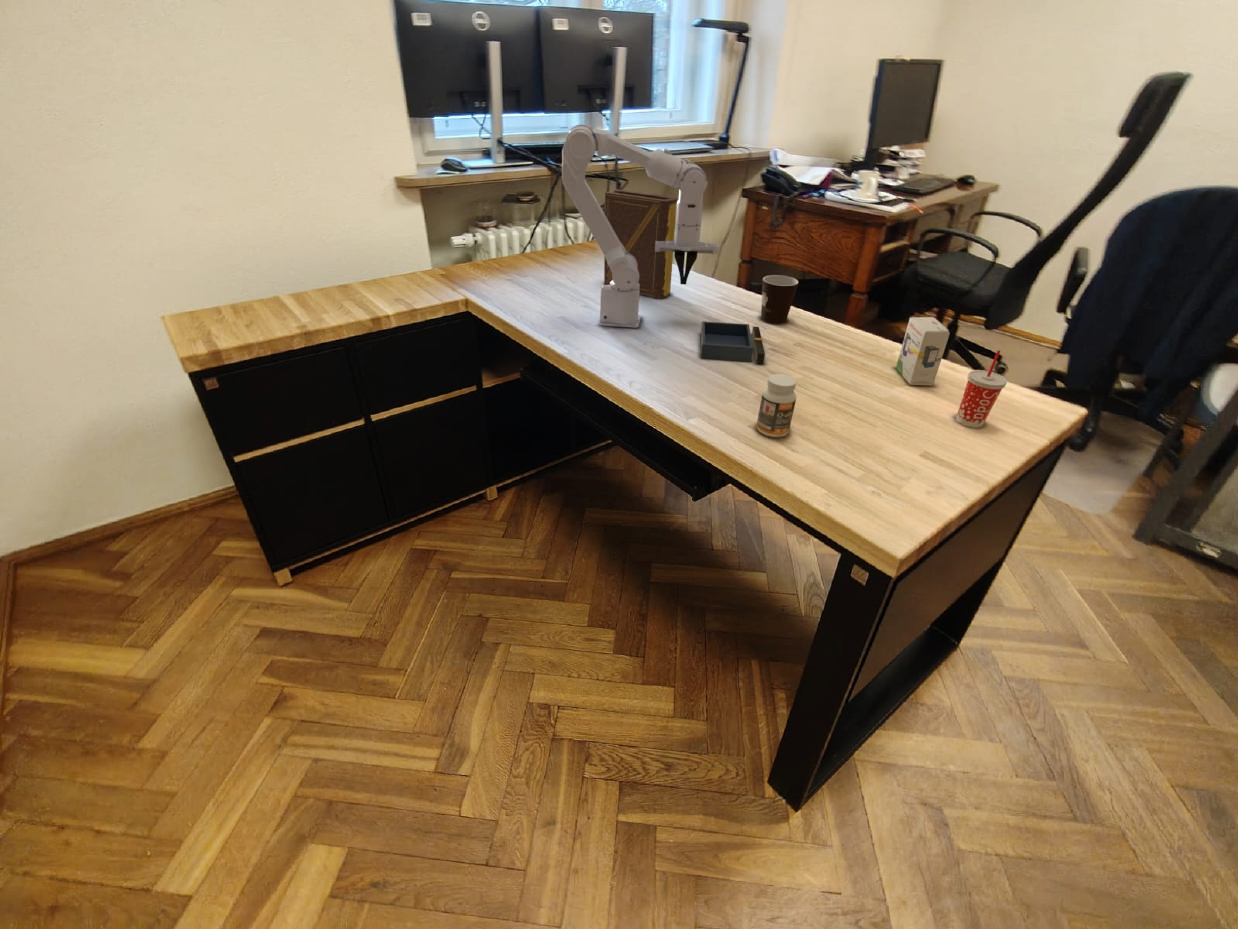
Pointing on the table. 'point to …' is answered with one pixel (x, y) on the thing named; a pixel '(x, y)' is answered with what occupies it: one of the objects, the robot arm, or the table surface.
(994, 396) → the beverage cup
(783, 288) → the coffee mug
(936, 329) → the ink box
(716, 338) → the tray
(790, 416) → the pill bottle
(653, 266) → the book
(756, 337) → the stop rail
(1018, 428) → the table surface
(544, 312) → the table surface
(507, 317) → the table surface
